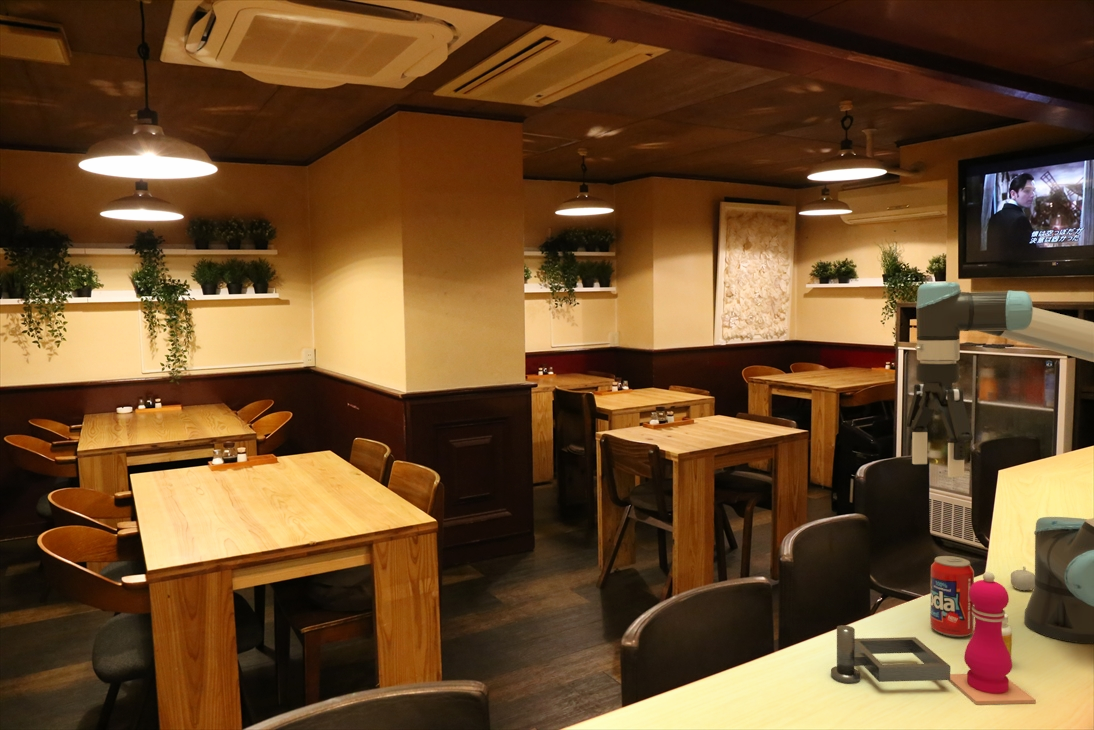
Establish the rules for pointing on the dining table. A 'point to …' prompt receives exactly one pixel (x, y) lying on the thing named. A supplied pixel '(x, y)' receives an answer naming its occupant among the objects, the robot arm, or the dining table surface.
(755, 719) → the dining table surface
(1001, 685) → the pepper mill
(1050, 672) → the dining table surface
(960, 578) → the soda can
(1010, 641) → the supplement bottle
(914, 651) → the square frame with post
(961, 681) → the terracotta tile
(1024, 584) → the garlic
